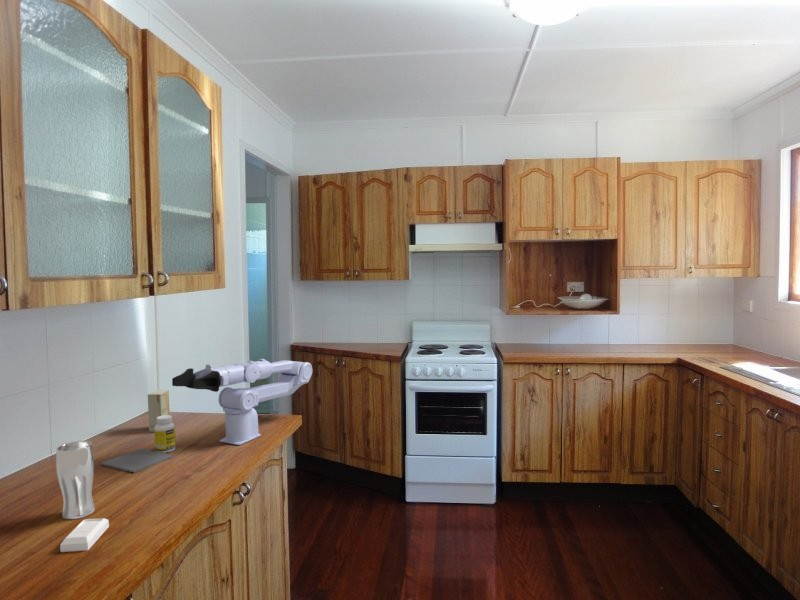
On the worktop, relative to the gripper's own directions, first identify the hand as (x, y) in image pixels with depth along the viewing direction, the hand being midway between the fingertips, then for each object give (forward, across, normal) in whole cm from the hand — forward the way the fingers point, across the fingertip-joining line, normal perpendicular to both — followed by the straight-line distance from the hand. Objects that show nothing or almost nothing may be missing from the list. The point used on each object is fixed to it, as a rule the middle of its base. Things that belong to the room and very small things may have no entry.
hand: (182, 383), depth 143 cm
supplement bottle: (-5, -13, +21) cm, 26 cm away
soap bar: (+35, +14, +25) cm, 45 cm away
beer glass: (+29, +2, +24) cm, 38 cm away
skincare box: (-17, -31, +20) cm, 41 cm away
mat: (+4, -13, +22) cm, 26 cm away
